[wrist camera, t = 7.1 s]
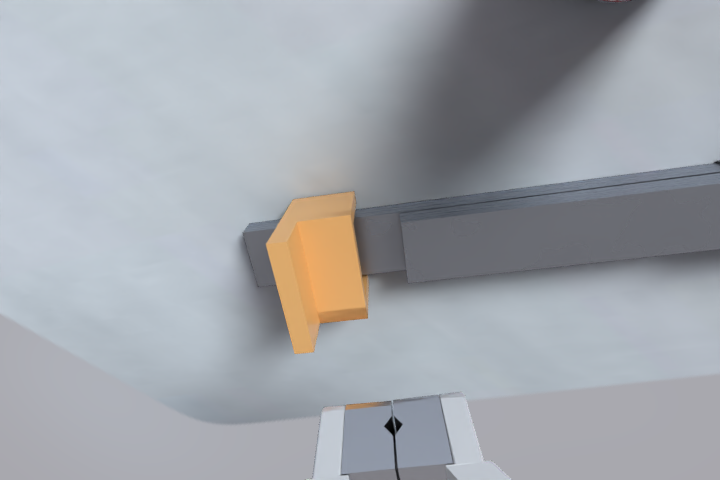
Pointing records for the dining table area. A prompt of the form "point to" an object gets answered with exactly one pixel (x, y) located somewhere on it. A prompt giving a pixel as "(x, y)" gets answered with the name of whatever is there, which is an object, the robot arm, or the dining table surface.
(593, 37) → the dining table surface
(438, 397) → the robot arm
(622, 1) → the soda can
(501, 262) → the tongs arm
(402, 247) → the tongs
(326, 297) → the orange c-shaped bracket
